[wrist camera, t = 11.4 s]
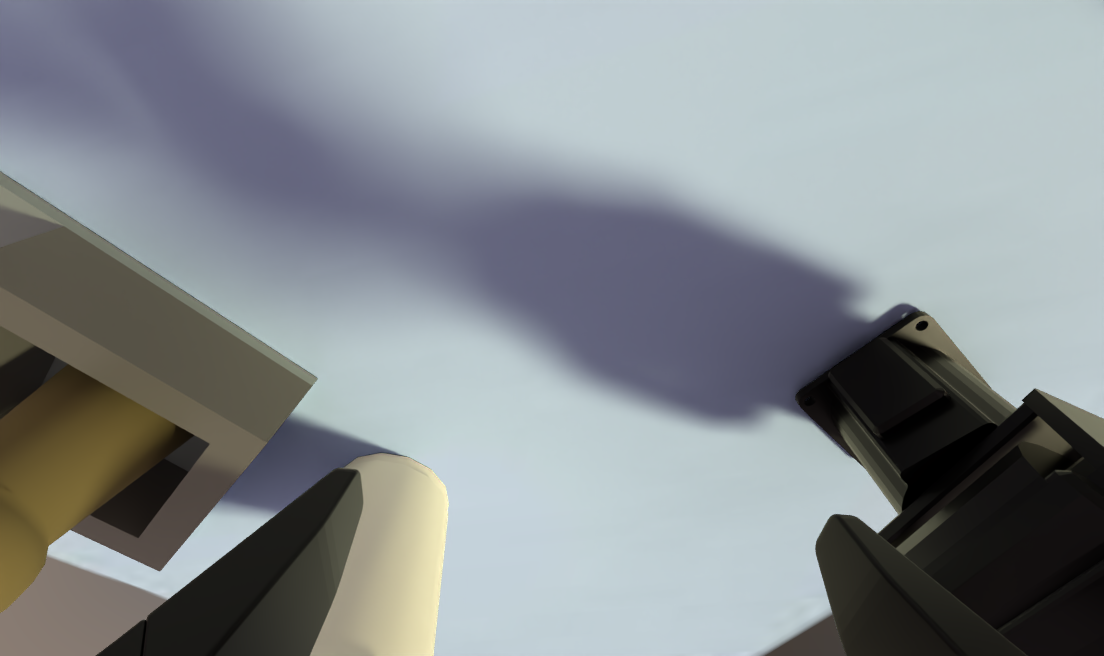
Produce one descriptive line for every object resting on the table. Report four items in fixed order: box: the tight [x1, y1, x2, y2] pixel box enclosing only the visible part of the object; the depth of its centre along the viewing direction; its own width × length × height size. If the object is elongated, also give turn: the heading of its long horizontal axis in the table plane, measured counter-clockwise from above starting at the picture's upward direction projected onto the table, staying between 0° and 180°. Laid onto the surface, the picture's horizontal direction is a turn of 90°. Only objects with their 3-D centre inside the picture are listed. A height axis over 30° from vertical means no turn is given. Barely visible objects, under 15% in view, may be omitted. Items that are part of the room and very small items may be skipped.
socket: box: [0, 172, 318, 571], centre depth 23 cm, size 16×16×5 cm
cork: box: [0, 364, 194, 613], centre depth 19 cm, size 6×6×11 cm
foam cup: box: [310, 453, 449, 656], centre depth 22 cm, size 10×9×13 cm
